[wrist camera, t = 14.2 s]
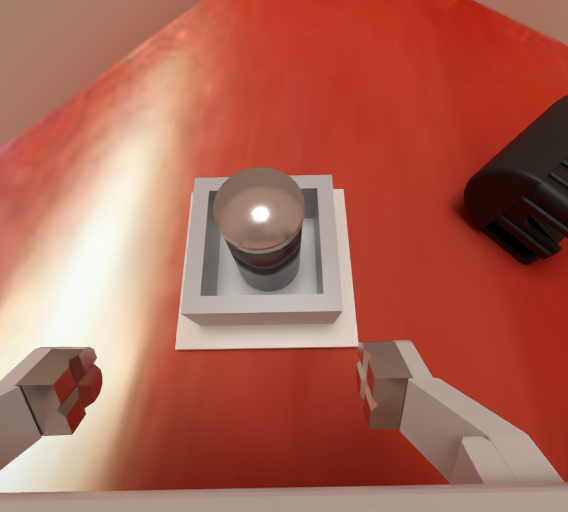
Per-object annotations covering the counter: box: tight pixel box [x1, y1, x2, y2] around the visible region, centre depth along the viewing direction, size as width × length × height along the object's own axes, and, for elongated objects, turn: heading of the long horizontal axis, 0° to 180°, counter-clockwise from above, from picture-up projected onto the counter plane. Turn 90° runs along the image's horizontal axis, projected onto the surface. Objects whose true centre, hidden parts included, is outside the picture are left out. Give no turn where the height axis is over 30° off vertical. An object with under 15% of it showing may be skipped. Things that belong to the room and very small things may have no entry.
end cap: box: [464, 95, 568, 264], centre depth 22 cm, size 10×7×7 cm
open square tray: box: [175, 175, 359, 350], centre depth 22 cm, size 12×12×5 cm
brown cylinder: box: [213, 167, 305, 292], centre depth 20 cm, size 4×4×8 cm
